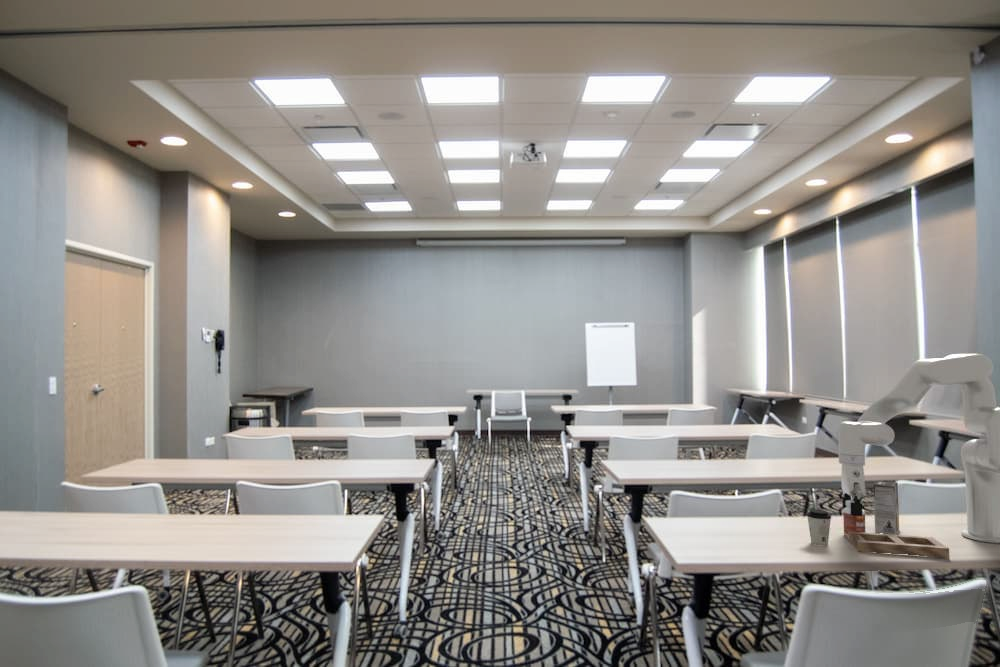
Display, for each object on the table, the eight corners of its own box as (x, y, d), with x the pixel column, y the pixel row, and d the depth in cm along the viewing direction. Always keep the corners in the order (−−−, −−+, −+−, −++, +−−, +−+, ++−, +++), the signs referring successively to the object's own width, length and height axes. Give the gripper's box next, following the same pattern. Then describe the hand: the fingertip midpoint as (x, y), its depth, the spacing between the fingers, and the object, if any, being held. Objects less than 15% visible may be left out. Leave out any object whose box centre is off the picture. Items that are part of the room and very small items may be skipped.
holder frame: (932, 547, 185) (932, 537, 185) (949, 559, 173) (949, 548, 173) (848, 540, 191) (848, 531, 191) (859, 552, 180) (859, 541, 180)
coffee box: (877, 527, 208) (876, 480, 209) (899, 530, 204) (898, 482, 205) (874, 533, 200) (873, 484, 201) (897, 536, 197) (895, 486, 197)
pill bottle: (859, 539, 193) (858, 504, 193) (839, 535, 198) (838, 500, 199) (869, 536, 196) (868, 502, 196) (850, 532, 201) (849, 498, 202)
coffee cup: (831, 548, 183) (830, 515, 184) (806, 544, 187) (805, 512, 188) (832, 542, 189) (831, 510, 190) (808, 539, 193) (807, 507, 193)
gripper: (872, 464, 189) (873, 519, 188) (857, 456, 205) (857, 507, 205) (846, 462, 191) (846, 517, 190) (832, 455, 208) (833, 505, 207)
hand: (852, 512), depth 197 cm, fingers open, 9 cm apart
